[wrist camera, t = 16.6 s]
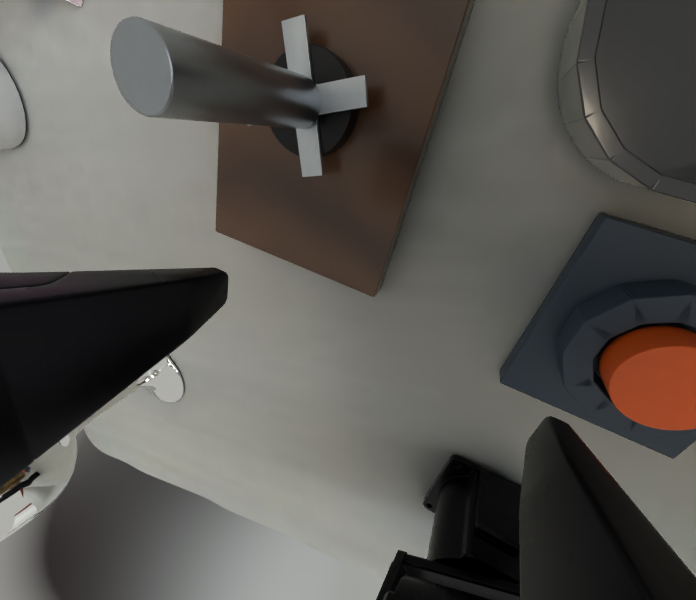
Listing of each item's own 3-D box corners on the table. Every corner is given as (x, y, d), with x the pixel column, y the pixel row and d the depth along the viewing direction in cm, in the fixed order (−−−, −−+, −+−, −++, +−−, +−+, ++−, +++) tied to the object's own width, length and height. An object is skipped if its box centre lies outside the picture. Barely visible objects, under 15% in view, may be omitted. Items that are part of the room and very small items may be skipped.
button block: (664, 442, 18) (690, 490, 16) (499, 370, 20) (499, 403, 18) (842, 284, 13) (924, 318, 11) (599, 211, 15) (619, 224, 13)
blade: (380, 169, 17) (267, 194, 9) (273, 178, 20) (106, 203, 11) (372, 7, 14) (201, -178, 6) (250, 42, 17) (12, -56, 9)
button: (673, 417, 15) (692, 446, 14) (579, 378, 16) (588, 402, 14) (746, 350, 13) (777, 376, 12) (635, 310, 14) (651, 330, 12)
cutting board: (380, 290, 21) (374, 297, 20) (227, 227, 24) (215, 231, 23) (517, -128, 12) (519, -153, 11) (246, -152, 15) (228, -173, 14)
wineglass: (184, 358, 32) (-156, 589, 16) (187, 413, 36) (-82, 645, 19) (125, 328, 34) (-234, 505, 17) (134, 383, 38) (-153, 571, 21)
